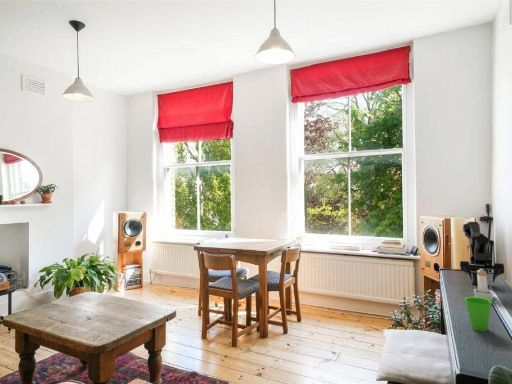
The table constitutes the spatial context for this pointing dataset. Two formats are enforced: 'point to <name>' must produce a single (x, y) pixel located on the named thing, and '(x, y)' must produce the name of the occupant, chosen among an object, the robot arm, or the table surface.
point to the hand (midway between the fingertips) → (482, 281)
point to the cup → (478, 312)
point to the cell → (482, 281)
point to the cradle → (484, 294)
